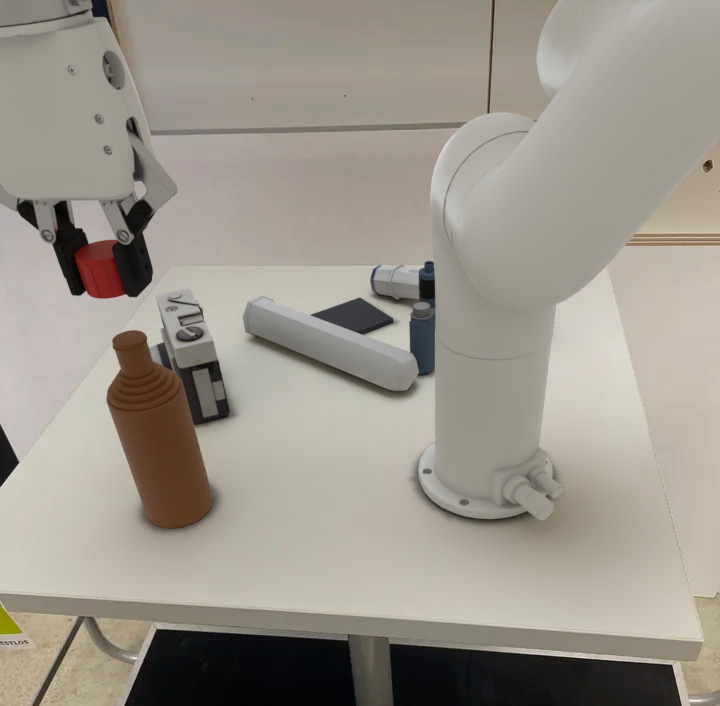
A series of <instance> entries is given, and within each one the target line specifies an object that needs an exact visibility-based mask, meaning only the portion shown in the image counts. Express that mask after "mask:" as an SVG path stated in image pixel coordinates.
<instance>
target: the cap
mask: <svg viewBox="0 0 720 706" xmlns="http://www.w3.org/2000/svg"><path fill="white" fill-rule="evenodd" d="M116 242H117V239H103V240H98V241H93V242H90V243H89V244H88V245H85V246H83V247H82V248H80V249H79V250H78V251H77V252H76V253H75V259H76V264H77V267H78V270H79V273H80V276H81V278H82V281H83V284H84V287H85V290H86V291H85V292H86V293H87V295H88V296H89V297H91V298H92V299H93V298H94V299H99V300H100V299H101V300H103V299H104V300H106V299H114V298H119V297H122V296H125V295H126V294H125V291H124V287H123V284H122V281H121V278H120V274H119V271H118V268H117V265H116V261H115V258H114V255H113V252H112V246H113V245H114V244H115V243H116Z"/></svg>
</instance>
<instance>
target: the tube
mask: <svg viewBox="0 0 720 706" xmlns="http://www.w3.org/2000/svg"><path fill="white" fill-rule="evenodd" d="M242 322H243V327H244V332H245V334H249V335H252V336H255V337H258V338H259V337H260V338H262V339H265V340H268V341H270V342H273V343H275V344H278V345H280V346H282V347H285V348H287V349H289V350H292V351H294V352H297V353H299V354H301V355H304V356H307V357H309V358H312V359H314V360H316V361H318V362H321V363H323V364H326V365H329V366H330V367H333V368H335V369H337V370H340V371H343V372H344V373H345V372H346V373H347V374H350V375H352V376H354V377H357V378H359V379H362V380H365V381H366V382H369V383H372V384H374V385H376V386H378V387H382V388H384V389H386V390H390V391H393V392H397V393H398V392H405V391H408V390H409V388H410V387H411V386H412V384H413V383H414V382H415V380H416V378H417V377H418V375H419V374H418V373H419V370H418V365H417V361H416V359H415V357H414V355H413V353H410V351H407V350H404V349H402V348H400V347H396V346H394V345H391V344H390V343H389V344H388V343H385V342H383V341H381V340H378V339H376V338H372V337H370V336H367V335H364V334H359V333H356V332H354V331H351V330H348V329H346V328H343V327H340V326H338V325H335V324H332V323H329V322H327V321H324V320H321V319H319V318H316V317H313V316H311V314H308V313H305V312H303V311H301V310H297V309H294V308H291V307H289V306H286V305H284V304H281V303H278V302H275V300H274V299H272V298H269V297H267V296H264V295H262V294H259V295H256V296H255V297H253V298H251V299H249V300H247V302H246V306H245V308H244V312H243V315H242Z"/></svg>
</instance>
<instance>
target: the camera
mask: <svg viewBox="0 0 720 706" xmlns="http://www.w3.org/2000/svg"><path fill="white" fill-rule="evenodd" d="M155 299H156V303H157V307H158V310H159V314H160V319H161V323H162V327H163V328H159V331H160V335H161V338H162V342H160V343H157V344H155V345H152V346H150V347H149V350H150V353H151V357H152V360H153V361H154V362H156V363H157V364H160V365H162V366H163V367H166V368H168V369H169V370H171V371H173V372H175V373H176V374H177V375H178V377H179V378H180V379H181V380H182V382H183V386H184V389H185V393H186V397H187V401H188V405H189V408H190V412H191V416H192V420H193V424H194V425H200V424H204V423H208V422H211V421H215V420H220V419H224V418H227V417H229V413H230V407H229V402H228V401H229V400H228V397H227V392H226V389H225V388H226V387H225V383H224V379H223V375H222V370H221V365H220V361H219V358H218V355H217V350H216V346H215V342H214V337H213V336H212V333H211V332H210V329H209V327H208V325H207V323H206V321H205V317H204V308H203V307H202V306H201V304H200V302H199V301H198V300H196V298H195V296H194V293H193V292H192V290H191V288H189V287H187V288H183V289H178V290H175V291H174V290H173V291H169V292H164V293H160V294H157V295H156V296H155Z"/></svg>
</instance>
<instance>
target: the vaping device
mask: <svg viewBox="0 0 720 706" xmlns="http://www.w3.org/2000/svg"><path fill="white" fill-rule="evenodd" d="M419 278H420V279H419V291H420V292H419V293H420V294H419V299H418V301H417V302H415V303H413V304H412V311H411V312H410V314H409V315H410V320H409V322H408V323H409V352H410V353H413V355H414V357H415V359H416V361H417V365H418V370H419V373H418V375H427V374H430V373H431V372H432V371H433V369H435V270H434V260H433V261H432V260H427V261H425V262H424V265H423V267H422V268H419Z"/></svg>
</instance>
